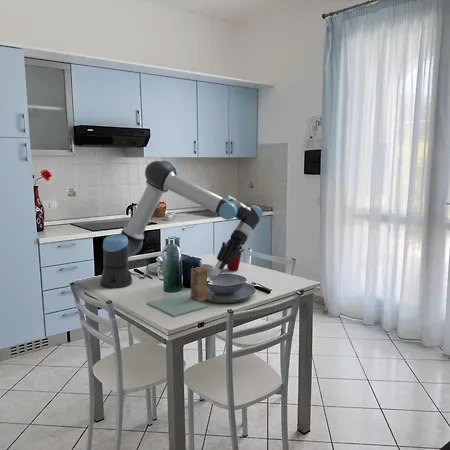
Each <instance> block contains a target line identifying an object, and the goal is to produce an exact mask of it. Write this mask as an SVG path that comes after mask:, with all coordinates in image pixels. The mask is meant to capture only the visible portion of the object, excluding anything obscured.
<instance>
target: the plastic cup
mask: <svg viewBox="0 0 450 450" xmlns="http://www.w3.org/2000/svg"><path fill="white" fill-rule="evenodd" d="M241 256H242V252H241V253H240V254H239V255H238V256H237V257H236V258H235V259H234V261H233V262H232V263H231V264H227V265H226V267H227V270H228V271H229V272H236V271H239V268H240V267H239V266H240V263H241Z"/></svg>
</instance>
